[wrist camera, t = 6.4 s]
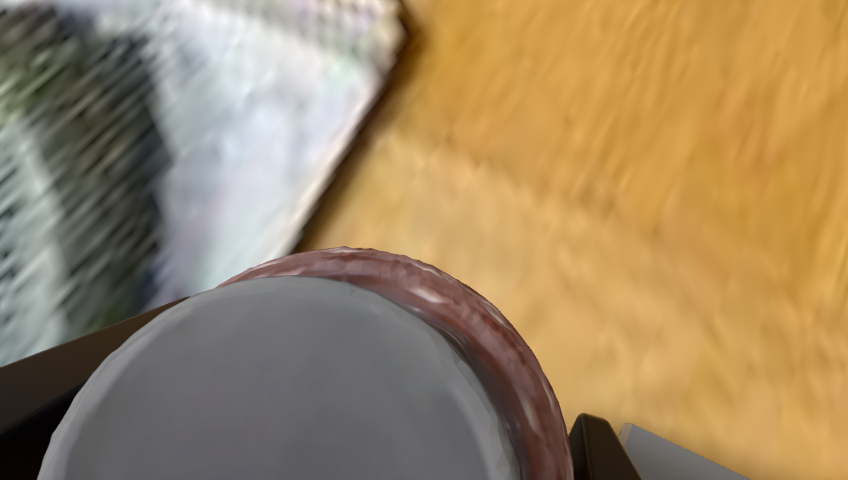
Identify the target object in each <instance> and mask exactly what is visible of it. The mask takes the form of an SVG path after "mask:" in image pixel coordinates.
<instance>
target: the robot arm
mask: <svg viewBox="0 0 848 480" xmlns="http://www.w3.org/2000/svg"><path fill="white" fill-rule="evenodd" d="M190 297H191V296H188V297H184V298H182V299H179V300H176V301H174V302H171V303H168V304H166V305H163V306H161V307H158V308H155V309H153V310H150V311H147V312H145V313H142V314H139V315H137V316H134V317H132V318H129V319H126V320H124V321H121V322H118V323H116V324H113V325H111V326H108V327H105V328H103V329H100V330H97V331H95V332H92V333H89V334H87V335H84V336H82V337H79V338H76V339H74V340H71V341H68V342H66V343H63V344H61V345H58V346H55V347H53V348H50V349H47V350H45V351H42V352H39V353H37V354H34V355H32V356H29V357H26V358H24V359H21V360H18V361H16V362H13V363H11V364H8V365H5V366H3V367H0V480H37V478H38V475H39V472H40V469H41V466H42V462H43V459H44V456H45V454H46V451H47V449H48V446H49V444H50V440H51V437H52V434H53V433H54V431H55V430H56V428H57V427H58V425H59V424H60V423H61V421H62V419H63V418H64V416H65V414H66V413H67V411H68V409H69V407H70V406H71V404H72V402H73V400H74V398H75V396H76V395H77V393H78V392H79V391H80V390H81V389H82V387H83V386H84V385H85V383H86V382H87V381H88V379H89V378H90V376H91V375H92V374H93V372H95V371H96V370H97V368H98V367H99V366H100V365H101V363H102V362H103V361H104V360H105V359H106V358H107V357H108V356H109V355H110V354H111V353H112V352H114V351H115V350H117V349H118V348H119V347H120V346H121V345H122V344H123V343H124V342H125V341H126V340H128V339H129V338H130V337H131V336H132V335H133V334H134V333H135V332H137V331H138V330H140V329H141V328H142V327H144V326H145V325H146V324H148V323H149V322H151V321H152V320H153V319H154V318H156V317H157V316H158V315H159V314H160V313H162V312H163V311H165V310H167V309H169V308H171V307H173V306H175V305H177V304H179V303H181V302H183V301H185V300H186V299H188V298H190ZM568 438H569V443H570V450H571V455H572V460H573V469H574V480H642V478H641V477H640V475H639V473H638V471H637V470H636V468H635V466H634V465H633V463H632V461H631V459H630V458H629V456H628V454H627V452H626V451H625V449H624V447H623V446H622V444H621V442H620V440H619V439H618V437H617V435H616V434H615V432H614V430H613V428H612V427H611V425H610V423H609V422H608V421H607V420H605V419H603V418H600V417H597V416H593V415H590V414H587V413H581V414H579V415H578V417H577V418H576V420H575V423H574V425H573V427H572V429H571V432H570V434H569V436H568Z"/></svg>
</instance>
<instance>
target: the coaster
mask: <svg viewBox="0 0 848 480" xmlns="http://www.w3.org/2000/svg"><path fill="white" fill-rule="evenodd" d="M618 439H619V440H620V442H621V444H622V446H623V447H624V449H625V451H626V452H627V454H628V456H629V458H630V459H631V461H632V463H633V465H634V466H635V468H636V470H637V471H638V473H639V475H640V477H641V478H642V480H750V479H748V478H746V477H744V476H742V475H740V474H737V473H735V472H733V471H731V470H729V469H727V468H725V467H723V466H721V465H718V464H716V463H714V462H712V461H710V460H708V459H706V458H704V457H701V456H699V455H697V454H695V453H693V452H691V451H689V450H687V449H684V448H682V447H680V446H678V445H676V444H674V443H672V442H670V441H667V440H665V439H663V438H661V437H659V436H657V435H655V434H653V433H651V432H648V431H646V430H644V429H642V428H640V427H638V426H636V425H634V424H629V423H624V425H623V428H622V430H621V433H620V436H619V438H618Z"/></svg>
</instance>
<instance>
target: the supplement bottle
mask: <svg viewBox="0 0 848 480" xmlns="http://www.w3.org/2000/svg"><path fill="white" fill-rule="evenodd" d="M37 480H574V469H573V460H572V455H571V450H570V443H569V438H568V435H567V429H566V425H565V422H564V419H563V415H562V412H561V409H560V405H559V402H558V400H557V398H556V396H555V394H554V391H553V388H552V386H551V385H550V383H549V381H548V379H547V377H546V376H545V374H544V372H543V370H542V368H541V366H540V364H539V362H538V360H537V358H536V356H535V355H534V353H533V352H532V350H531V349H530V347H529V346H528V345H527V344H526V342H525V341H524V340H523V338H522V337H521V336H520V334H519V333H518V332H517V330H516V329H515V328H514V327H513V325H512V324H511V323H510V322H509V321H508V320H507V319H506V318H505V317H504V315H503V314H502V313H501V312H500V311H499V310H498V309H497V308H496V307H495V306H494V305H493V304H492V303H490V302H489V301H488V300H487V299H486V298H484V297H483V296H482V295H480V294H479V293H477V292H476V291H475V290H473V289H472V288H471V287H469V286H467V285H466V284H464V283H462V282H460V281H459V280H457V279H455V278H453V277H452V276H450V275H449V274H447V273H445V272H443V271H441V270H440V269H438V268H436V267H434V266H433V265H430V264H426V263H423V262H421V261H420V260H415V259H412V258H409V257H407V256H405V255H398V254H392V253H389V252H384V251H378V250H375V249H372V248H368V249H363V248H349V247H346V246H343V247H337V248H330V249H321V250H313V251H309V252H304V253H297V254H292V255H288V256H283V257H280V258H277V259H274V260H271V261H268V262H265V263H263V264H261V265H258V266H256V267H253V268H249V269H247V270H246V271H244V272H242V273H240V274H238V275H237V276H235V277H232V278H230V279H229V280H227V281H226V282H224V283H222V284H220V285H218V286H217V287H216V288H215V289H211V290H208V291H205V292H202V293H198V294H196V295H194V296H192V297H190V298H188V299H186V300H185V301H183V302H181V303H179V304H177V305H175V306H173V307H171V308H169V309H167V310H165V311H163V312H162V313H160V314H159V315H158V316H157V317H156V318H154V319H153V320H152V321H151V322H149V323H148V324H146V325H145V326H144V327H142V328H141V329H140V330H138V331H137V332H135V333H134V334H133V335H132V336H131V337H130V338H129V339H128V340H126V341H125V342H124V343H123V344H122V345H121V346H120V347H119V348H118V349H117V350H115V351H114V352H112V353H111V354H110V355H109V356H108V357H107V358H106V359H105V360H104V361H103V362H102V363H101V365H100V366H99V367H98V368H97V370H96V371H95V372H93V374H92V375H91V376H90V378H89V379H88V381H87V382H86V383H85V385H84V386H83V387H82V389H81V390H80V391H79V392H78V393H77V395H76V396H75V398H74V400H73V402H72V404H71V406H70V407H69V409H68V411H67V413H66V414H65V416H64V418H63V419H62V421H61V423H60V424H59V425H58V427H57V428H56V430H55V431H54V433H53V434H52V437H51V440H50V444H49V446H48V449H47V451H46V454H45V456H44V459H43V462H42V466H41V469H40V472H39V475H38V478H37Z"/></svg>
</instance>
